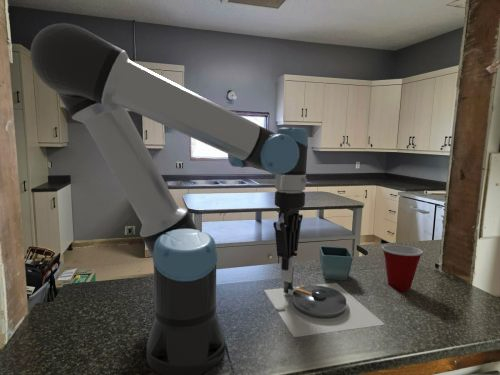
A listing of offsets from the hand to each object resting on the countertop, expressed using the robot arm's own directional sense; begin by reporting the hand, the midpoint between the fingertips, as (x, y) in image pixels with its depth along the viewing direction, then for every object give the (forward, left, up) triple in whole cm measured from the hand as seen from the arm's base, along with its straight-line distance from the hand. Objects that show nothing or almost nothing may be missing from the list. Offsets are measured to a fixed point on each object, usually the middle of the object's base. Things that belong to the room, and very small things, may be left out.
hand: (286, 280), depth 84 cm
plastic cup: (+36, +1, -6) cm, 36 cm away
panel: (+7, -6, -6) cm, 11 cm away
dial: (+6, -4, -4) cm, 8 cm away
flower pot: (+20, +10, -6) cm, 23 cm away
